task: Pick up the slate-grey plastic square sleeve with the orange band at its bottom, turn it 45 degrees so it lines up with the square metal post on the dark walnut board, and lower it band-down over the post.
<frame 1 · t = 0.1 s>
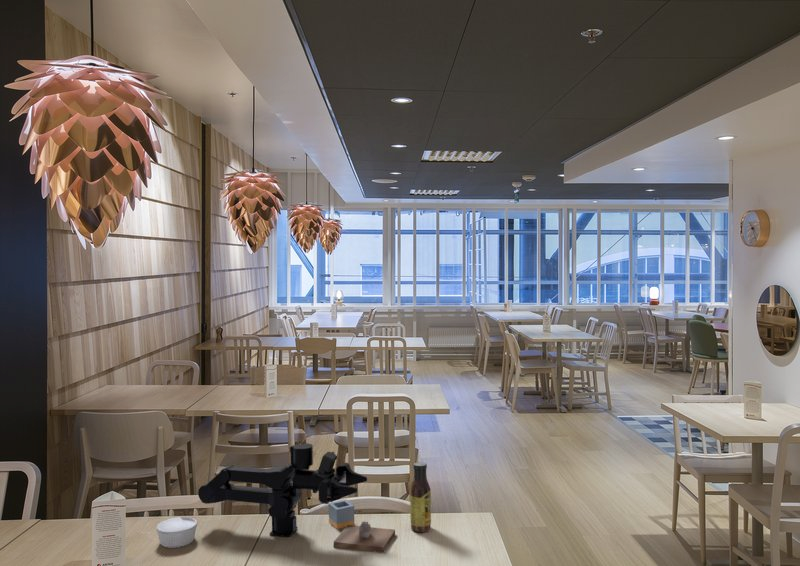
hand: (362, 484, 185), 17 cm above the table, tool horizontal, fingers open, 9 cm apart
ramekin: (177, 542, 187), on the table
sauce bottle: (420, 529, 193), on the table
pin board: (365, 540, 185), on the table
sleeve: (341, 523, 198), on the table
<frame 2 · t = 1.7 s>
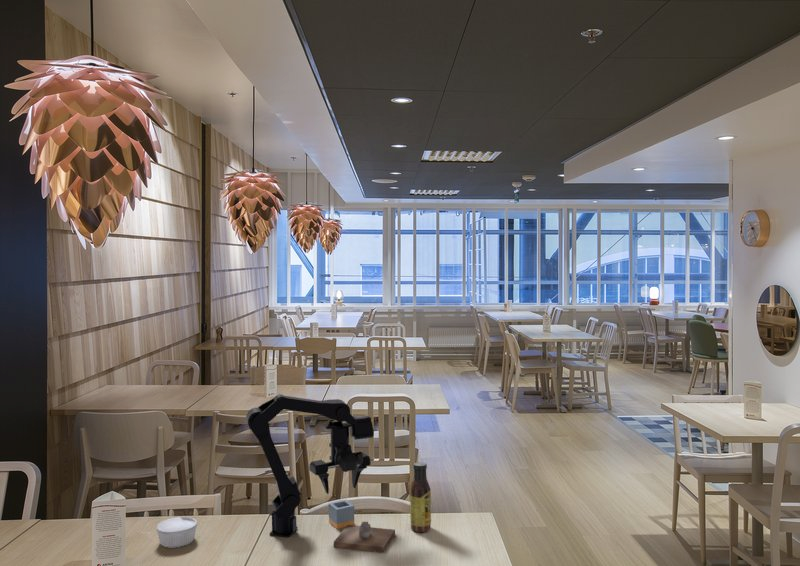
hand: (340, 490, 197), 10 cm above the table, tool pointing down, fingers open, 9 cm apart
nothing on the table moved.
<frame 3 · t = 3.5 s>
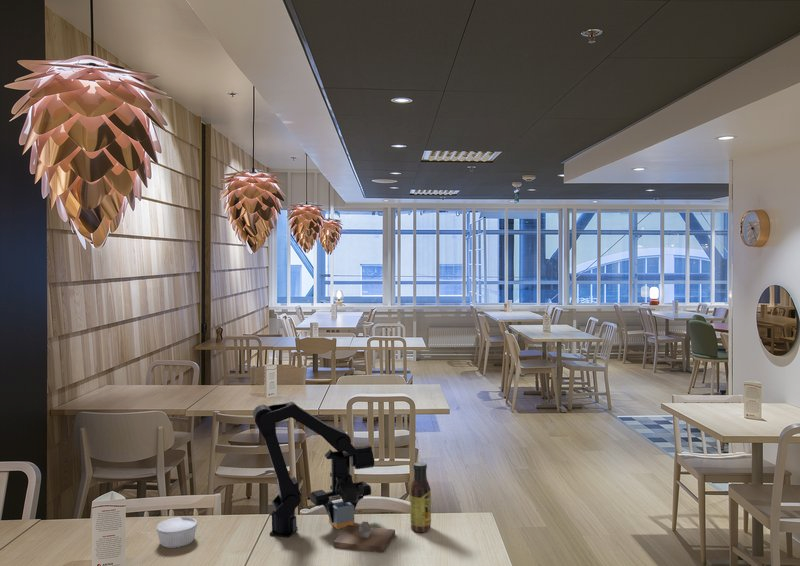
hand: (341, 520, 198), 1 cm above the table, tool pointing down, fingers closed on sleeve, 6 cm apart
sleeve: (341, 523, 198), on the table, touching gripper
everything else where it was.
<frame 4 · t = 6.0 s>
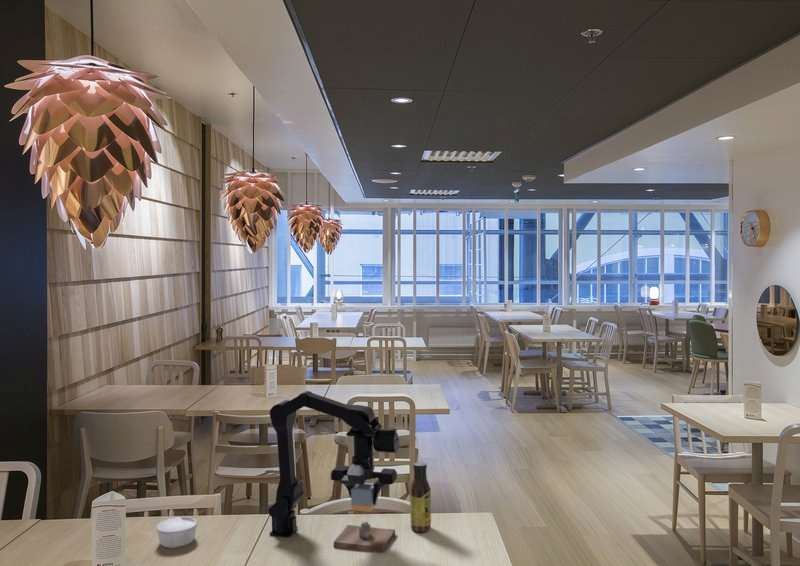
hand: (364, 503, 185), 11 cm above the table, tool pointing down, fingers closed on sleeve, 6 cm apart
sleeve: (364, 506, 185), point 10 cm above the table, touching gripper
everything else where it was.
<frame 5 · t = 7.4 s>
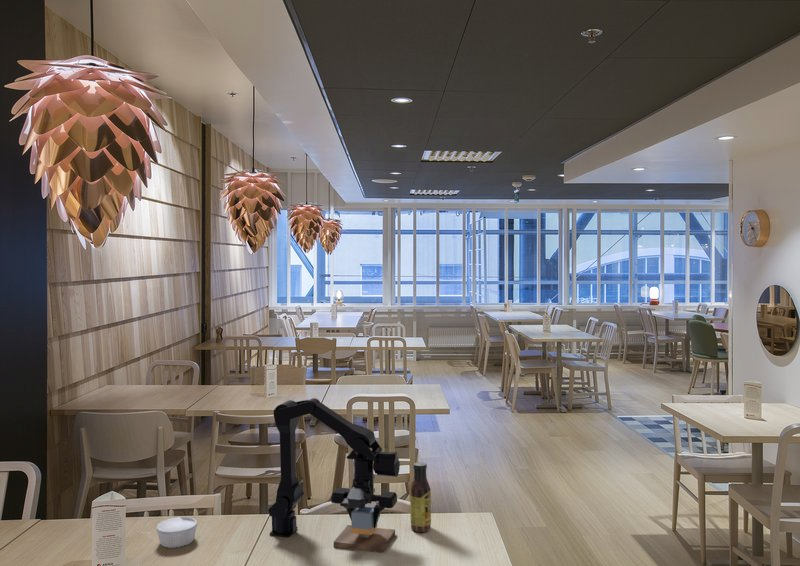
hand: (364, 526, 185), 4 cm above the table, tool pointing down, fingers closed on sleeve, 6 cm apart
sleeve: (364, 529, 185), point 3 cm above the table, touching gripper
everything else where it was.
when the fingers open (3 cm above the table, at t = 8.5 s): sleeve stays where it is, resting on pin board.
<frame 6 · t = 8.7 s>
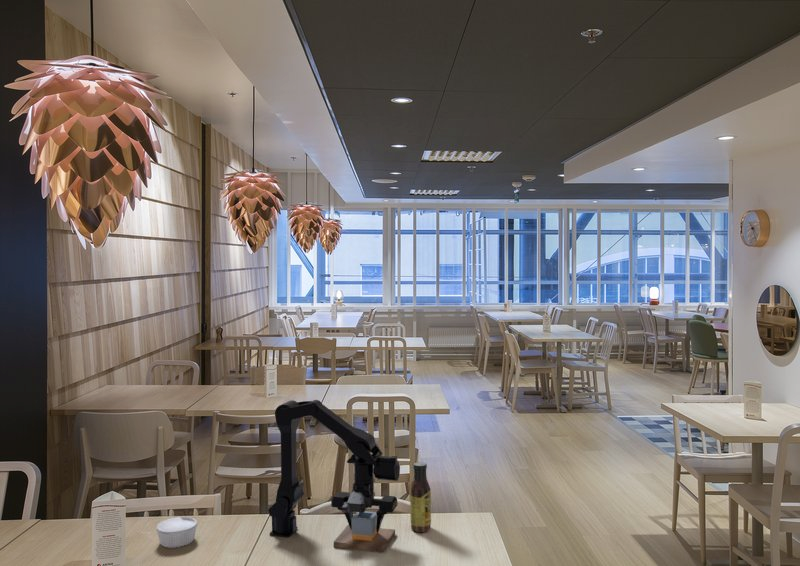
hand: (364, 530, 185), 3 cm above the table, tool pointing down, fingers open, 8 cm apart
sleeve: (364, 535, 185), point 1 cm above the table, touching pin board
everything else where it was.
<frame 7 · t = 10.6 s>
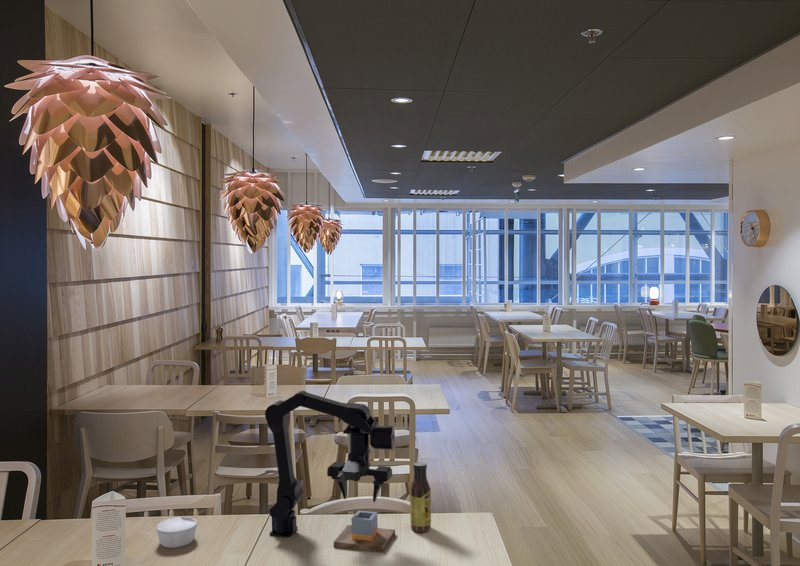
hand: (359, 500, 188), 11 cm above the table, tool pointing down, fingers open, 9 cm apart
nothing on the table moved.
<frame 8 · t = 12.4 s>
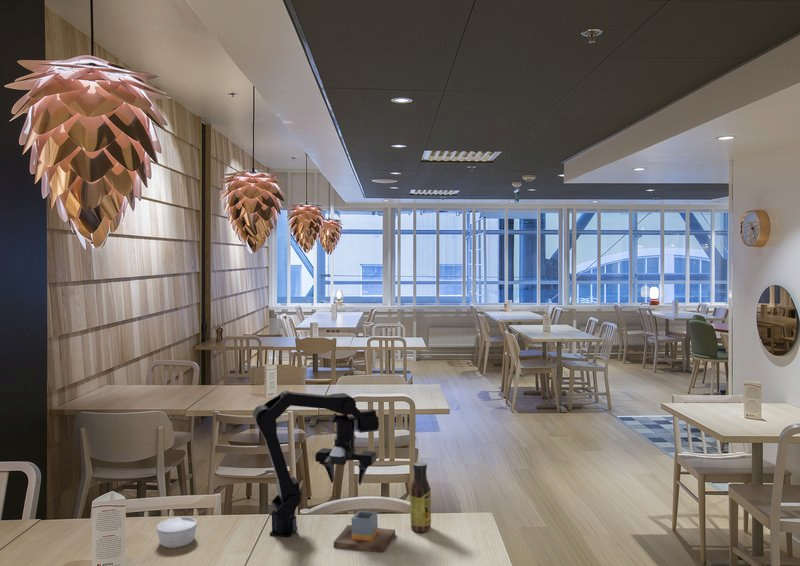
hand: (346, 483, 199), 12 cm above the table, tool pointing down, fingers open, 9 cm apart
nothing on the table moved.
at the end: sleeve 0.1 cm off-centre on the pin board, point 1.5 cm above the pin board's base; sleeve tilted 0°; the gripper is holding nothing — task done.
